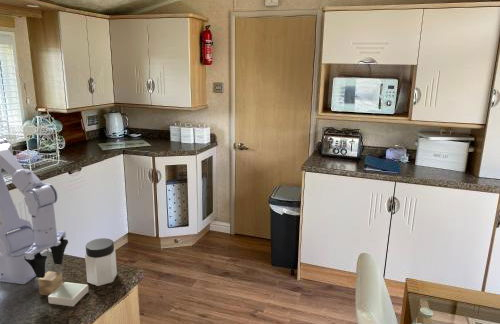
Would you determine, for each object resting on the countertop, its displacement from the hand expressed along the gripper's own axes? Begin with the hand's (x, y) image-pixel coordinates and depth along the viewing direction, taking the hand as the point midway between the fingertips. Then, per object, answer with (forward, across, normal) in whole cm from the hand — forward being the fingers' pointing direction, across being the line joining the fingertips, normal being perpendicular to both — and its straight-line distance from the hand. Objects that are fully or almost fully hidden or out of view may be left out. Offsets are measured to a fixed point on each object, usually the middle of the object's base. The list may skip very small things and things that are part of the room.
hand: (49, 270), depth 109 cm
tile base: (+7, -2, -7) cm, 10 cm away
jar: (+7, +9, -11) cm, 16 cm away
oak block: (+7, 0, 0) cm, 7 cm away
